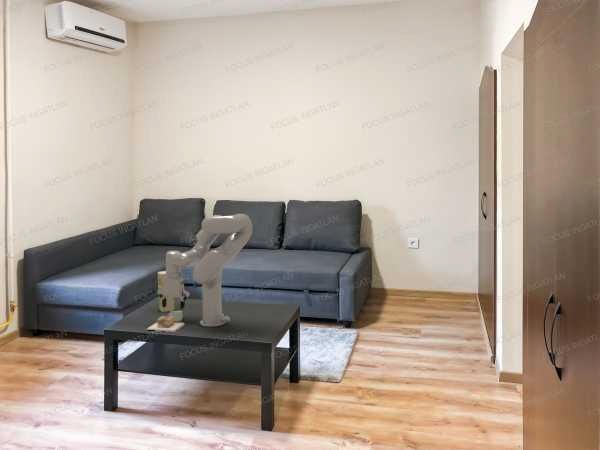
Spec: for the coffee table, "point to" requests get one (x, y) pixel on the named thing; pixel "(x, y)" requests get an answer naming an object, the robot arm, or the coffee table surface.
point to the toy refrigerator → (168, 299)
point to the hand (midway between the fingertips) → (173, 307)
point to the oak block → (165, 321)
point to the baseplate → (171, 329)
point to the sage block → (176, 315)
